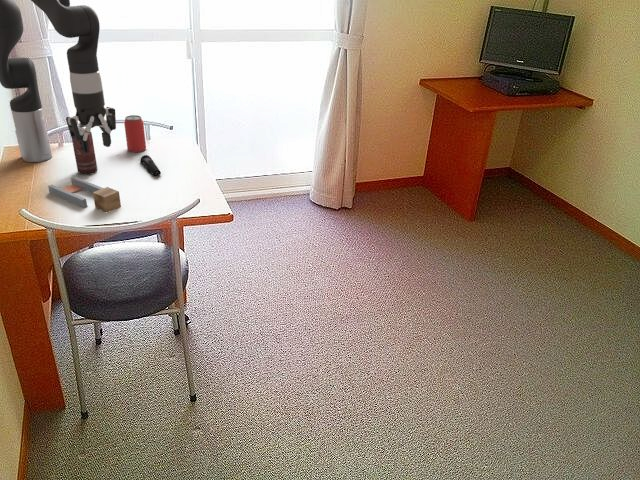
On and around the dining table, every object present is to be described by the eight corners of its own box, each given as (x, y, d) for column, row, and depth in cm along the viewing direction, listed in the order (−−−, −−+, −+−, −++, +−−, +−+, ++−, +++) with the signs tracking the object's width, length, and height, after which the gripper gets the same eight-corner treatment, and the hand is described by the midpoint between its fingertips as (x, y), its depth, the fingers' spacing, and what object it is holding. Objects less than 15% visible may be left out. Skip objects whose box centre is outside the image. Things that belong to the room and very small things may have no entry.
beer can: (124, 151, 197) (120, 119, 191) (132, 145, 202) (128, 113, 196) (141, 153, 196) (137, 121, 190) (149, 147, 201) (146, 115, 196)
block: (95, 208, 158) (92, 192, 155) (109, 202, 161) (107, 186, 159) (106, 212, 155) (104, 197, 153) (121, 206, 159) (118, 191, 157)
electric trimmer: (152, 179, 178) (151, 170, 176) (139, 162, 189) (138, 154, 188) (163, 177, 180) (163, 168, 178) (150, 161, 191) (149, 152, 189)
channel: (49, 193, 164) (47, 185, 163) (75, 183, 171) (74, 176, 170) (83, 207, 157) (82, 200, 156) (109, 197, 164) (108, 189, 162)
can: (91, 176, 176) (84, 135, 169) (74, 173, 177) (66, 132, 170) (102, 169, 181) (95, 129, 175) (84, 167, 182) (77, 126, 175)
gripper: (72, 96, 135) (83, 160, 143) (119, 86, 145) (127, 145, 154) (53, 91, 138) (65, 153, 146) (100, 81, 149) (109, 139, 157)
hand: (96, 149), depth 150 cm, fingers open, 6 cm apart
